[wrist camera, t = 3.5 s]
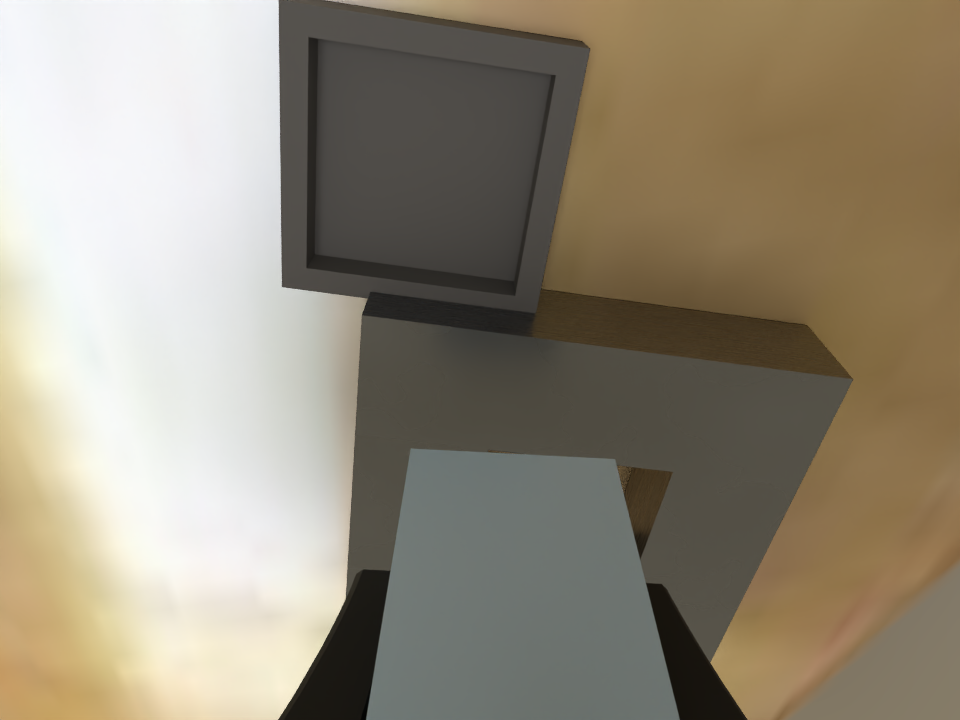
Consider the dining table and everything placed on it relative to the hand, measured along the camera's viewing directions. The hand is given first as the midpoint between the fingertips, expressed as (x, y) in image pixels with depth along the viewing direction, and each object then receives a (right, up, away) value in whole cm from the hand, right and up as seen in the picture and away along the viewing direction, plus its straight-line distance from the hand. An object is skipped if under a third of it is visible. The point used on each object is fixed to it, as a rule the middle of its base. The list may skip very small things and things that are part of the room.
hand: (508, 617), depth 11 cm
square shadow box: (-2, +9, +6) cm, 11 cm away
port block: (+2, +1, +10) cm, 11 cm away
